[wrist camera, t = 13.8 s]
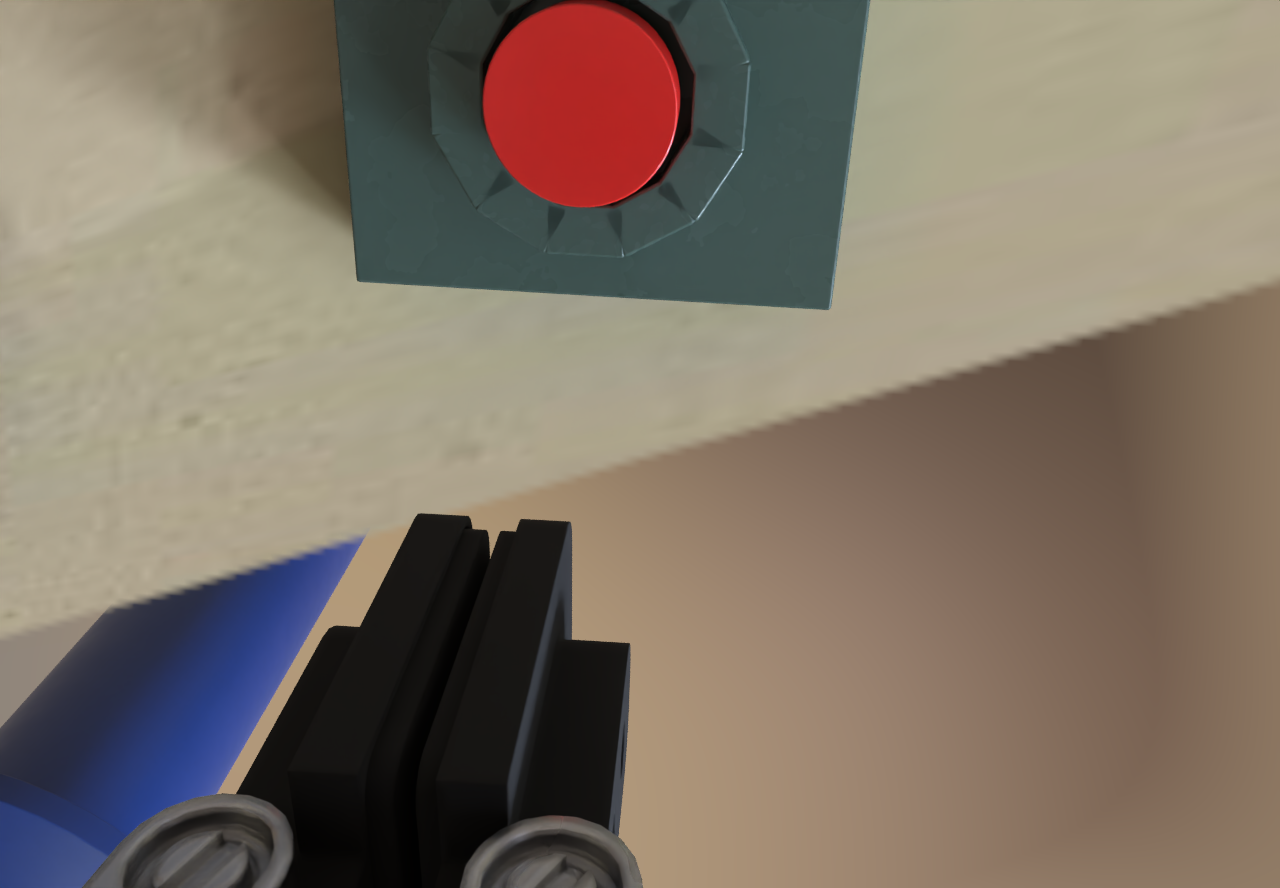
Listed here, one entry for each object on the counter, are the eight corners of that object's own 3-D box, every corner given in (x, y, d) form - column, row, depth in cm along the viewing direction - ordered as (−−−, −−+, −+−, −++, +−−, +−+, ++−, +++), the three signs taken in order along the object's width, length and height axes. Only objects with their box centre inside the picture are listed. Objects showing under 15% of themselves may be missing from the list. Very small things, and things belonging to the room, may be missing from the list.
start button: (675, 194, 24) (672, 213, 22) (499, 184, 24) (484, 202, 22) (685, 2, 22) (683, 8, 20) (496, -7, 22) (479, -2, 20)
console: (821, 278, 28) (838, 336, 24) (386, 252, 29) (332, 305, 25) (872, -142, 24) (903, -156, 20) (357, -164, 24) (286, -182, 20)
